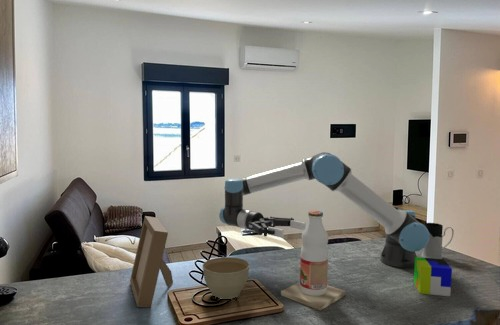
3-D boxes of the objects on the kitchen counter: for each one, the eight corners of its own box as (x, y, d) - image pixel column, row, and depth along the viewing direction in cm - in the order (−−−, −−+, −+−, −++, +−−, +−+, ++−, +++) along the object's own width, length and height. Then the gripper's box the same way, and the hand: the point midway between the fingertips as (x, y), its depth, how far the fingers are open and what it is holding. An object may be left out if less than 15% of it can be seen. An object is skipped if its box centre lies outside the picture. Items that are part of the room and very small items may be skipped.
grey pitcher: (417, 253, 180) (419, 222, 179) (445, 253, 182) (447, 222, 180) (428, 260, 171) (430, 227, 170) (457, 259, 173) (459, 226, 172)
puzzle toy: (450, 296, 135) (451, 268, 134) (419, 293, 137) (421, 266, 136) (442, 285, 144) (443, 259, 143) (413, 282, 146) (415, 257, 145)
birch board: (307, 282, 145) (307, 278, 145) (345, 295, 134) (345, 290, 134) (280, 295, 133) (280, 291, 133) (320, 310, 122) (320, 306, 122)
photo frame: (137, 309, 121) (136, 232, 119) (129, 283, 141) (128, 217, 139) (183, 301, 127) (183, 228, 125) (170, 278, 147) (169, 214, 145)
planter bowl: (255, 289, 138) (255, 259, 137) (239, 308, 123) (239, 275, 122) (214, 282, 143) (214, 254, 142) (194, 300, 128) (194, 269, 127)
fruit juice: (322, 299, 127) (325, 216, 125) (295, 293, 132) (298, 213, 129) (329, 288, 136) (332, 210, 133) (304, 283, 140) (306, 207, 137)
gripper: (270, 224, 163) (313, 233, 149) (228, 236, 145) (272, 248, 131) (270, 206, 162) (313, 214, 148) (228, 216, 144) (272, 226, 130)
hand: (294, 230), depth 139 cm, fingers open, 13 cm apart
